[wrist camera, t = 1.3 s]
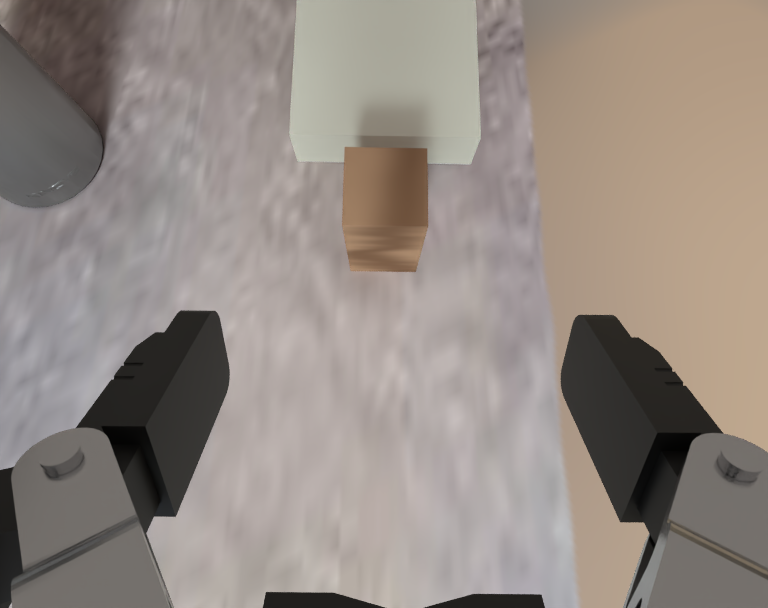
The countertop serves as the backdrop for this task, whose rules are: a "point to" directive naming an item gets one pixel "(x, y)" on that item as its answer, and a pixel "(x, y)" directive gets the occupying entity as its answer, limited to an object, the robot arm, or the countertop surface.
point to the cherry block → (385, 207)
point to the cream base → (385, 78)
